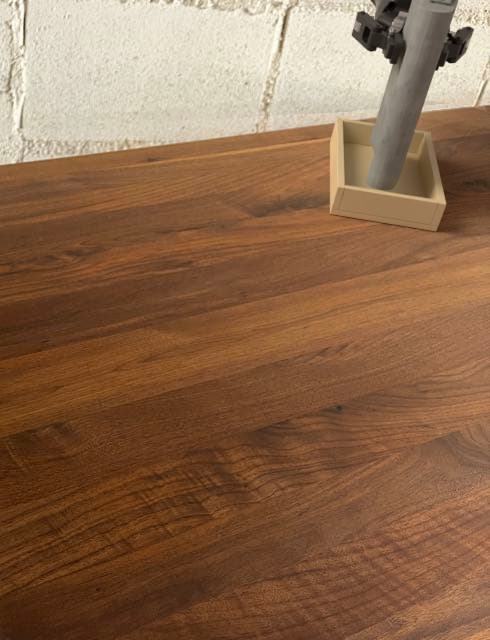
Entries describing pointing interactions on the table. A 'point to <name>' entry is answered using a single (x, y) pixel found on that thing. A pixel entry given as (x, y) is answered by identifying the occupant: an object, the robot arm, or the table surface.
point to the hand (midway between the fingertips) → (417, 57)
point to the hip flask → (408, 88)
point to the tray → (384, 205)
